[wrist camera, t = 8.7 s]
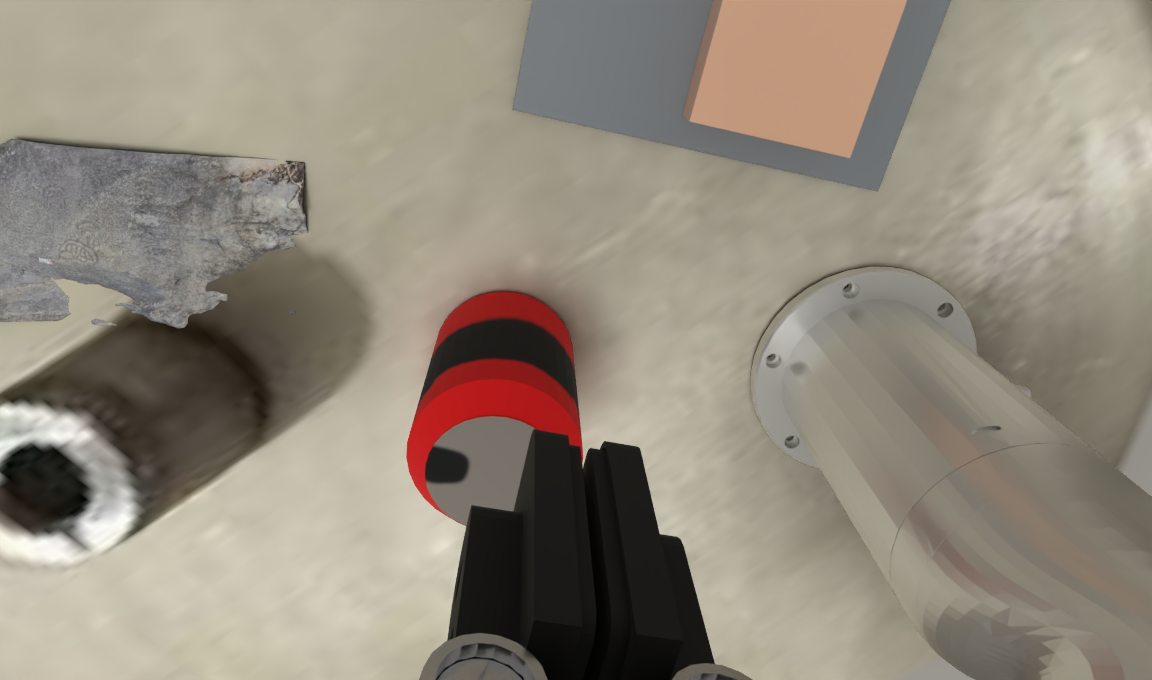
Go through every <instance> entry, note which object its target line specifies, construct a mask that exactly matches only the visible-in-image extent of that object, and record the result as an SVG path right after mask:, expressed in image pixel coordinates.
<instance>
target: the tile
mask: <svg viewBox="0 0 1152 680" xmlns="http://www.w3.org/2000/svg"><path fill="white" fill-rule="evenodd" d="M906 2H907V0H713V2H712V6H711V10H710V14H709V17H708V21H707V25H706V28H705V32H704V36H703V39H702V43H701V47H700V51H699V54H698V58H697V62H696V65H695V69H694V73H693V76H692V80H691V84H690V88H689V91H688V95H687V99H686V102H685V106H684V110H683V114H682V116H683V117H685V118H686V119H687V120H688V121H689V122H694V123H698V124H703V125H707V126H711V127H716V128H720V129H724V130H729V131H733V132H738V133H742V134H746V135H751V136H755V137H759V138H764V139H768V140H773V141H777V142H781V143H786V144H790V145H794V146H799V147H803V148H808V149H812V150H816V151H821V152H825V153H830V154H834V155H838V156H843V157H847V158H850V157H851V154H852V151H853V149H854V146H855V143H856V140H857V138H858V135H859V132H860V129H861V127H862V124H863V121H864V118H865V115H866V113H867V110H868V107H869V104H870V102H871V99H872V96H873V93H874V91H875V88H876V85H877V82H878V80H879V77H880V74H881V71H882V69H883V66H884V63H885V60H886V57H887V55H888V52H889V49H890V46H891V44H892V41H893V38H894V35H895V33H896V30H897V27H898V24H899V22H900V19H901V16H902V13H903V11H904V8H905V5H906Z"/></svg>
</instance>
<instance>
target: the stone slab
mask: <svg viewBox="0 0 1152 680" xmlns="http://www.w3.org/2000/svg"><path fill="white" fill-rule="evenodd" d="M277 162H278V160H271V159H257V158H239V157H209V156H199V155H186V154H160V153H146V152H134V151H123V150H111V149H93V148H82V147H73V146H63V145H53V144H44V143H35V142H29V141H24V140H19V139H11V140H9V141H8V142H7V143H3V144H1V145H0V322H22V321H59V320H62V319H64V318H65V317H67V316H68V315H70V314H71V313H70V312H69V311H68V309H69V308H67V307H68V303H69V297H68V296H67V295H66V294H65V293H64V292H63V291H62V290H61V289H60V288H59V287H58V286H57V284H56V283H55V282H54V281H52V280H51V279H50V277H51V278H53V279H63V278H65V279H69V280H73V281H77V282H78V283H83V284H99V285H101V286H103V287H106V288H110V289H113V290H116V291H118V292H120V293H123V294H125V295H127V296H129V297H131V298H132V299H133V300H135V301H138V302H135V303H119V304H115V306H117V307H118V306H124V307H126V308H129V309H132V310H133V311H132V313H138V314H144V316H147V318H148V319H150V320H152V321H156V322H160V323H166V324H168V325H170V326H173V327H176V328H184V327H185V326H186V324H187V322H188V316H190V315H191V314H195V313H202V312H204V311H208V310H211V309H213V308H214V307H215V306H216V305H217V304H218V303H219V302H220V300H223V301H227V294H221V293H219V292H214V291H209V292H207V291H206V290H205V287H206V285H207V283H208V282H211V281H213V280H216V279H217V278H219V277H220V276H224V275H228V274H230V273H233V272H240V271H243V270H245V268H246V267H247V266H248V265H249V264H250V263H251V262H253V261H255V260H257V259H259V258H260V257H261V256H262V255H263V254H264V253H265V252H266V251H270V250H286V249H289V248H291V247H295V242H294V240H293V239H291V238H288V237H287V236H290V235H298V234H302V233H308V231H307V228H306V217H305V214H304V213H303V207H302V201H303V187H304V176H305V172H304V163H300V162H294V163H295V164H297V165H292V163H293V162H287V161H286V164H281V165H278V166H275V165H276V163H277ZM286 239H287V242H286ZM290 313H291V314H293V315H294V314H296V312H295V310H294V309H293V310H292V311H290ZM92 324H95V325H115V324H112V323H110V322H106V321H104V320H99V319H94V320H92Z"/></svg>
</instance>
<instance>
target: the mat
mask: <svg viewBox="0 0 1152 680" xmlns="http://www.w3.org/2000/svg"><path fill="white" fill-rule="evenodd" d="M950 1H951V0H907V2H906V5H905V8H904V11H903V13H902V16H901V19H900V22H899V24H898V27H897V30H896V33H895V35H894V38H893V41H892V44H891V46H890V49H889V52H888V55H887V57H886V60H885V63H884V66H883V69H882V71H881V74H880V77H879V80H878V82H877V85H876V88H875V91H874V93H873V96H872V99H871V102H870V104H869V107H868V110H867V113H866V115H865V118H864V121H863V124H862V127H861V129H860V132H859V135H858V138H857V140H856V143H855V146H854V149H853V151H852V154H851V157H850V158H847V157H843V156H838V155H834V154H830V153H825V152H821V151H816V150H812V149H808V148H803V147H799V146H794V145H790V144H786V143H781V142H777V141H773V140H768V139H764V138H759V137H755V136H751V135H746V134H742V133H738V132H733V131H729V130H724V129H720V128H716V127H711V126H707V125H703V124H698V123H694V122H689V121H688V120H687V119H686V118H685V117H683V116H682V114H683V110H684V106H685V102H686V99H687V95H688V91H689V88H690V84H691V80H692V76H693V73H694V69H695V65H696V62H697V58H698V54H699V51H700V47H701V43H702V39H703V36H704V32H705V28H706V25H707V21H708V17H709V14H710V10H711V6H712V2H713V0H533V2H532V7H531V13H530V18H529V24H528V29H527V34H526V40H525V45H524V51H523V56H522V62H521V67H520V72H519V78H518V83H517V89H516V94H515V99H514V105H513V110H516V111H520V112H525V113H529V114H534V115H538V116H543V117H547V118H552V119H556V120H561V121H565V122H569V123H574V124H578V125H583V126H587V127H592V128H596V129H601V130H605V131H610V132H614V133H619V134H623V135H628V136H632V137H637V138H641V139H646V140H650V141H654V142H659V143H663V144H668V145H672V146H677V147H681V148H686V149H690V150H695V151H699V152H704V153H708V154H713V155H717V156H722V157H726V158H731V159H735V160H739V161H744V162H748V163H753V164H757V165H762V166H766V167H771V168H775V169H780V170H784V171H789V172H793V173H798V174H802V175H807V176H811V177H816V178H820V179H824V180H829V181H833V182H838V183H842V184H847V185H851V186H856V187H860V188H865V189H869V190H874V191H878V189H879V187H880V184H881V182H882V179H883V176H884V174H885V171H886V169H887V166H888V163H889V161H890V158H891V156H892V153H893V150H894V148H895V145H896V142H897V140H898V137H899V135H900V132H901V129H902V127H903V124H904V122H905V119H906V116H907V114H908V111H909V109H910V106H911V103H912V101H913V98H914V95H915V93H916V90H917V88H918V85H919V82H920V80H921V77H922V75H923V72H924V69H925V67H926V64H927V61H928V59H929V56H930V54H931V51H932V48H933V46H934V43H935V41H936V38H937V35H938V33H939V30H940V28H941V25H942V22H943V20H944V17H945V14H946V12H947V9H948V7H949V4H950Z"/></svg>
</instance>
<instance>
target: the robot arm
mask: <svg viewBox="0 0 1152 680" xmlns="http://www.w3.org/2000/svg"><path fill="white" fill-rule="evenodd" d="M848 284H849V286H848V287H847V288H846V289H844V287H845V286H846V285H848ZM939 306H940V307H939ZM771 354H773V355H772V356H771V357H770V358H767V357H768V356H769V355H771ZM750 376H751V396H752V400H753V404H754V408H755V412H756V414H757V416H758V418H759V420H760V422H761V424H762V426H763V428H764V429H765V431H766V432H767V434H768V436H769V437H770V439H771V440H772V441H773V442H774V443H775V444H776V445H777V446H778V447H779V448H780V449H781V450H782V451H783V452H784V453H786V454H787V455H789V456H790V457H792V458H794V459H795V460H797V461H799V462H800V463H803V464H806V465H809V466H811V467H814V468H817V469H820V470H821V471H822V473H823V475H824V476H825V478H826V480H827V481H828V483H829V485H830V486H831V488H832V490H833V491H834V493H835V495H836V496H837V498H838V500H839V501H840V503H841V505H842V506H843V508H844V510H845V511H846V513H847V515H848V516H849V518H850V520H851V521H852V523H853V525H854V526H855V528H856V530H857V531H858V533H859V535H860V537H861V538H862V540H863V542H864V543H865V545H866V547H867V548H868V550H869V552H870V553H871V555H872V557H873V558H874V560H875V562H876V563H877V565H878V567H879V568H880V570H881V572H882V573H883V575H884V577H885V578H886V580H887V582H888V583H889V585H890V587H891V588H892V590H893V592H894V593H895V595H896V597H897V599H898V601H899V603H900V604H901V606H902V608H903V609H904V611H905V612H906V614H907V616H908V617H909V619H910V621H911V622H912V624H913V625H914V627H915V628H916V629H917V631H918V632H919V634H920V635H921V636H922V638H923V639H924V640H925V641H926V642H927V643H928V644H929V645H930V647H931V648H932V649H933V650H934V651H935V652H936V653H937V654H938V655H939V656H941V657H942V658H943V659H944V660H946V661H947V662H948V663H950V664H951V665H952V666H954V667H955V668H956V669H958V670H959V671H961V672H962V673H964V674H966V675H967V676H969V677H971V678H973V679H975V680H1152V497H1151V496H1150V495H1149V494H1147V493H1146V492H1145V491H1144V490H1142V489H1141V488H1140V487H1139V486H1137V485H1136V484H1135V483H1134V482H1132V481H1131V480H1130V479H1129V478H1127V477H1126V476H1125V475H1124V474H1123V473H1121V472H1120V471H1119V470H1118V469H1116V468H1115V467H1114V466H1113V465H1112V464H1110V463H1109V462H1108V461H1107V460H1105V459H1104V458H1103V457H1102V456H1101V455H1099V454H1098V453H1097V452H1096V451H1094V450H1093V449H1092V448H1091V447H1090V446H1088V445H1087V444H1086V443H1085V442H1083V441H1082V440H1081V439H1080V438H1079V437H1077V436H1076V435H1075V434H1074V433H1072V432H1071V431H1070V430H1069V429H1068V428H1066V427H1065V426H1064V425H1063V424H1061V423H1060V422H1059V421H1058V420H1057V419H1055V418H1054V417H1053V416H1052V415H1050V414H1049V413H1048V412H1047V411H1046V410H1044V409H1043V408H1042V407H1041V406H1039V405H1038V404H1037V403H1036V402H1035V401H1033V400H1032V399H1031V398H1032V397H1031V391H1030V390H1029V388H1028V387H1025V386H1021V385H1016V384H1013V383H1011V382H1010V381H1009V380H1008V379H1006V378H1005V377H1004V376H1003V375H1002V374H1000V373H999V372H998V371H997V370H995V369H994V368H993V367H992V366H991V365H989V364H988V363H987V362H986V361H984V360H983V359H982V358H981V357H979V356H978V354H977V345H976V336H975V333H974V330H973V327H972V324H971V321H970V318H969V317H968V315H967V314H966V312H965V311H964V309H963V308H962V306H961V304H960V303H959V302H958V301H957V300H956V299H955V298H954V297H953V296H952V295H951V294H950V293H949V292H947V291H946V290H945V289H944V288H942V287H941V286H939V285H938V284H937V283H935V282H934V281H932V280H931V279H929V278H926V277H924V276H922V275H920V274H917V273H915V272H913V271H909V270H904V269H899V268H894V267H865V268H859V269H853V270H847V271H845V272H842V273H839V274H836V275H833V276H830V277H827V278H825V279H823V280H821V281H820V282H818V283H816V284H814V285H812V286H811V287H809V288H807V289H805V290H804V291H803V292H802V293H800V294H799V295H798V296H796V297H795V298H794V299H793V300H791V301H790V302H789V303H788V304H787V305H786V306H785V307H784V308H783V309H782V310H781V311H780V312H779V314H778V315H777V316H776V317H775V318H774V319H773V320H772V322H771V324H770V325H769V327H768V328H767V330H766V331H765V333H764V335H763V336H762V338H761V340H760V343H759V345H758V348H757V350H756V353H755V355H754V359H753V365H752V370H751V375H750ZM419 680H752V679H751V678H749V677H747V676H746V675H744V674H743V673H741V672H739V671H736V670H734V669H731V668H728V667H726V666H723V665H716V664H715V663H714V659H713V655H712V652H711V648H710V644H709V640H708V636H707V633H706V629H705V625H704V621H703V618H702V614H701V610H700V606H699V603H698V599H697V595H696V591H695V588H694V584H693V580H692V576H691V573H690V569H689V565H688V561H687V557H686V554H685V550H684V546H683V544H682V542H681V540H680V539H679V538H678V537H674V536H668V535H661V534H659V530H658V525H657V521H656V516H655V512H654V508H653V503H652V499H651V495H650V490H649V486H648V481H647V477H646V473H645V468H644V464H643V459H642V455H641V451H640V448H639V447H636V446H630V445H624V444H618V443H612V442H606V441H604V442H603V444H602V446H601V448H600V450H599V449H593V448H590V449H589V450H588V452H587V456H586V459H585V463H584V466H583V467H582V457H581V448H580V446H575V445H569V436H568V435H565V434H559V433H553V432H547V431H542V430H536V429H534V430H533V431H532V434H531V438H530V442H529V446H528V450H527V455H526V459H525V463H524V468H523V472H522V476H521V480H520V485H519V489H518V493H517V498H516V502H515V506H514V511H506V510H500V509H494V508H487V507H481V506H474V505H472V506H471V508H470V512H469V517H468V522H467V526H466V531H465V536H464V541H463V546H462V551H461V556H460V562H459V567H458V573H457V578H456V584H455V591H454V597H453V604H452V611H451V618H450V625H449V633H448V640H447V641H446V642H444V643H443V644H442V645H441V646H440V647H438V648H437V649H436V650H435V651H433V652H432V654H431V655H430V657H429V659H428V660H427V662H426V664H425V665H424V667H423V670H422V673H421V676H420V678H419Z"/></svg>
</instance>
